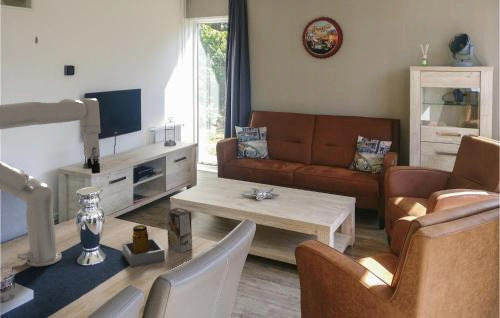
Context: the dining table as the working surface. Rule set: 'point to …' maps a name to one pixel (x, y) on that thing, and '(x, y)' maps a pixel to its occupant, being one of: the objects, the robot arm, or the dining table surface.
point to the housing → (144, 254)
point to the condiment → (140, 240)
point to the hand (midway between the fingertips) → (93, 170)
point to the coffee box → (179, 229)
